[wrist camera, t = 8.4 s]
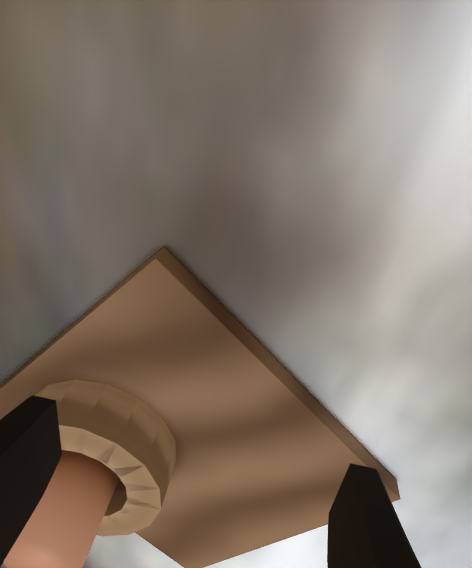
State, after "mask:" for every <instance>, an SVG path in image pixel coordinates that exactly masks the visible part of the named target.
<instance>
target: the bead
mask: <svg viewBox="0 0 472 568" xmlns="http://www.w3.org/2000/svg"><path fill="white" fill-rule="evenodd" d="M34 396H39V397H43V398H48V399H53V400H56V404H57V413H58V422H59V431H60V440H61V449H62V450H66V451H73V452H79V453H82V454H84V455H87V456H89V457H91V458H94V459H96V460H98V461H101V462H102V463H103V464H104V465H106V466H107V467H108V468H110V469H111V470H112V471H114V472H115V473H116V474H117V475H118V476H119V478H120V479H119V481H118V484H117V486H116V488H115V491H114V493H113V495H112V498H111V500H110V503H109V505H108V507H107V510H106V512H105V514H104V517H103V519H102V522H101V524H100V526H99V529H98V531H97V533H96V535H99V536H113V535H128V534H132V533H134V532H136V531H138V530H141V529H143V528H145V527H147V526H150V525H151V523H152V522H153V520H154V519H155V517H156V516H157V515H158V513H159V512H160V510H161V508H162V505H163V502H164V498H165V495H166V492H167V489H168V485H169V482H170V479H171V476H172V473H173V469H174V466H175V463H176V445H175V439H174V437H173V436H172V434H171V432H170V430H169V429H168V427H167V425H166V423H165V422H164V420H163V418H162V417H160V416H159V415H158V414H157V413H156V412H155V411H153V410H152V409H151V408H150V407H149V406H147V405H146V404H145V403H144V402H143V401H141V400H140V399H139V398H137V397H135V396H133V395H131V394H128V393H126V392H124V391H122V390H119V389H117V388H115V387H113V386H110V385H108V384H102V383H96V382H89V381H82V380H71V381H65V382H60V383H55V384H50V385H47V386H46V387H45V388H43V389H42V390H41V391H40V392H38V393H37V394H36V395H34Z"/></svg>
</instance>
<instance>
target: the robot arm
mask: <svg viewBox="0 0 472 568" xmlns="http://www.w3.org/2000/svg"><path fill="white" fill-rule="evenodd" d="M61 456H62V449H61V440H60V431H59V422H58V413H57V404H56V400H53V399H48V398H43V397H39V396H34V395H32V396H30V397H28V398H27V399H26V400H25V401H23V402H22V403H21V404H19V405H18V406H17V407H16V408H14V409H13V410H12V411H10V412H9V413H8V414H7V415H5V416H4V417H3V418H1V419H0V567H1V565H2V563H3V562H4V560H5V558H6V557H7V555H8V553H9V552H10V550H11V548H12V547H13V545H14V543H15V542H16V540H17V539H18V537H19V535H20V534H21V532H22V530H23V529H24V527H25V525H26V524H27V522H28V520H29V519H30V517H31V515H32V514H33V512H34V510H35V509H36V507H37V505H38V503H39V502H40V500H41V498H42V497H43V495H44V493H45V491H46V488H47V486H48V484H49V482H50V480H51V478H52V476H53V474H54V471H55V469H56V467H57V465H58V462H59V460H60V458H61ZM327 562H328V568H421V566H420V564H419V562H418V560H417V558H416V556H415V554H414V552H413V549H412V547H411V545H410V543H409V541H408V539H407V537H406V534H405V532H404V530H403V528H402V526H401V523H400V521H399V519H398V517H397V514H396V512H395V510H394V507H393V505H392V503H391V500H390V498H389V496H388V493H387V491H386V488H385V486H384V484H383V481H382V479H381V476H380V474H379V472H378V471H377V469H375V468H370V467H366V466H361V465H356V464H352V463H350V465H349V467H348V469H347V472H346V474H345V476H344V479H343V481H342V483H341V486H340V488H339V490H338V493H337V495H336V497H335V500H334V502H333V504H332V507H331V509H330V511H329V517H328V554H327Z"/></svg>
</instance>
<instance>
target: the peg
mask: <svg viewBox="0 0 472 568" xmlns="http://www.w3.org/2000/svg"><path fill="white" fill-rule="evenodd" d="M119 479H120V478H119V476H118V475H117V474H116V473H115V472H114V471H112V470H111V469H110V468H108V467H107V466H106V465H104V464H103V463H102V462H101V461H98V460H96V459H94V458H91V457H89V456H87V455H84V454H82V453H79V452H73V451H66V450H62V456H61V458H60V460H59V462H58V465H57V467H56V469H55V471H54V474H53V476H52V478H51V480H50V482H49V484H48V486H47V488H46V491H45V493H44V495H43V497H42V498H41V500H40V502H39V503H38V505H37V507H36V509H35V510H34V512H33V514H32V515H31V517H30V519H29V520H28V522H27V524H26V525H25V527H24V529H23V530H22V532H21V534H20V535H19V537H18V539H17V540H16V542H15V543H14V545H13V547H12V548H11V550H10V552H9V553H8V555H7V557H6V558H5V560H4V562H3V563H4V564H5V565H6V566H7V567H8V568H82V567H83V564H84V562H85V560H86V557H87V555H88V553H89V550H90V548H91V545H92V543H93V541H94V538H95V536H96V533H97V531H98V529H99V526H100V524H101V522H102V519H103V517H104V514H105V512H106V510H107V507H108V505H109V503H110V500H111V498H112V495H113V493H114V491H115V488H116V486H117V484H118V481H119Z"/></svg>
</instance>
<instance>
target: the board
mask: <svg viewBox="0 0 472 568" xmlns="http://www.w3.org/2000/svg"><path fill="white" fill-rule="evenodd" d="M71 380H82V381H89V382H96V383H102V384H108V385H110V386H113V387H115V388H117V389H119V390H122V391H124V392H126V393H128V394H131V395H133V396H135V397H137V398H139V399H140V400H141V401H143V402H144V403H145V404H146V405H147V406H149V407H150V408H151V409H152V410H153V411H155V412H156V413H157V414H158V415H159V416H160V417H162V418H163V420H164V422H165V423H166V425H167V427H168V429H169V430H170V432H171V434H172V436H173V437H174V439H175V445H176V463H175V466H174V469H173V473H172V476H171V479H170V482H169V485H168V489H167V492H166V495H165V498H164V502H163V505H162V508H161V510H160V512H159V513H158V515H157V516H156V517H155V519H154V520H153V522H152V523H151V525H150V526H147V527H145V528H143V529H141V530H138V531H136V532H135V533H136V534H138V535H139V536H141V537H142V538H143V539H145V540H146V541H148V542H149V543H150V544H152V545H153V546H155V547H156V548H157V549H159V550H160V551H162V552H163V553H164V554H166V555H167V556H169V557H170V558H171V559H173V560H174V561H176V562H177V563H178V564H180V565H181V566H183V567H184V568H203V567H206V566H209V565H212V564H215V563H218V562H220V561H223V560H226V559H229V558H232V557H235V556H238V555H241V554H244V553H246V552H249V551H252V550H255V549H258V548H261V547H264V546H267V545H269V544H272V543H275V542H278V541H281V540H284V539H287V538H290V537H293V536H295V535H298V534H301V533H304V532H307V531H310V530H313V529H316V528H318V527H321V526H324V525H327V524H328V517H329V511H330V509H331V507H332V504H333V502H334V500H335V497H336V495H337V493H338V490H339V488H340V486H341V483H342V481H343V479H344V476H345V474H346V472H347V469H348V467H349V465H350V463H352V464H356V465H361V466H366V467H370V468H375V469H377V471H378V472H379V474H380V476H381V479H382V481H383V484H384V486H385V488H386V491H387V493H388V496H389V498H390V500H391V502H393V501H396V500H399V499H400V495H399V490H398V485H397V480H396V479H395V478H394V477H393V476H392V475H391V474H390V473H389V472H388V471H387V470H386V469H385V468H384V467H383V466H382V465H381V464H380V463H379V462H378V461H377V460H376V459H375V458H374V457H373V456H372V455H371V454H370V453H369V452H368V451H367V450H366V449H365V448H364V447H363V446H362V445H361V444H360V443H359V442H358V441H357V440H356V439H355V438H354V437H353V436H352V435H351V434H350V433H349V432H348V431H347V430H346V429H345V428H344V427H343V426H342V425H341V424H340V423H339V422H338V421H337V420H336V419H335V418H334V417H333V416H332V415H331V414H330V413H329V412H328V411H327V410H326V409H325V408H324V407H323V406H322V405H321V404H320V403H319V402H318V401H317V400H316V399H315V398H314V397H313V396H312V395H311V394H310V393H309V392H308V391H307V390H306V389H305V388H304V387H303V386H302V385H301V384H300V383H299V382H298V381H297V380H296V379H295V378H294V377H293V376H292V375H291V374H290V373H289V372H288V371H287V370H286V369H285V368H284V367H283V366H282V365H281V364H280V363H279V362H278V361H277V360H276V359H275V358H274V357H273V356H272V355H271V354H270V353H269V352H268V351H267V350H266V349H265V348H264V347H263V346H262V345H261V344H260V343H259V342H258V341H257V340H256V339H255V338H254V337H253V336H252V335H251V334H250V333H249V332H248V331H247V330H246V329H245V328H244V327H243V326H242V325H241V324H240V322H239V321H238V320H237V319H236V318H235V317H234V316H233V315H232V314H231V313H230V312H229V311H228V310H227V309H226V308H225V307H224V306H223V305H222V304H221V303H220V302H219V301H218V300H217V299H216V298H215V297H214V296H213V295H212V294H211V293H210V292H209V291H208V290H207V289H206V288H205V287H204V286H203V285H202V284H201V283H200V282H199V281H198V280H197V279H196V278H195V277H194V276H193V275H192V274H191V273H190V272H189V271H188V270H187V269H186V268H185V267H184V266H183V265H182V264H181V263H180V262H179V261H178V260H177V259H176V258H175V257H174V256H173V255H172V254H171V253H170V252H169V251H168V250H167V249H166V248H165V247H162V248H161V249H160V250H159V251H158V252H157V253H155V254H154V255H153V256H152V257H151V258H150V259H148V260H147V261H146V262H145V263H144V264H142V265H141V266H140V267H139V268H138V269H137V270H135V271H134V272H133V273H132V274H131V275H129V276H128V277H127V278H126V279H125V280H124V281H122V282H121V283H120V284H119V285H118V286H117V287H115V288H114V289H113V290H112V291H111V292H109V293H108V294H107V295H106V296H105V297H104V298H102V299H101V300H100V301H99V302H98V303H97V304H95V305H94V306H93V307H92V308H91V309H89V310H88V311H87V312H86V313H85V314H84V315H82V316H81V317H80V318H79V319H78V320H76V321H75V322H74V323H73V324H72V325H71V326H69V327H68V328H67V329H66V330H65V331H64V332H62V333H61V334H60V335H59V336H58V337H56V338H55V339H54V340H53V341H52V342H51V343H49V344H48V345H47V346H46V347H45V348H44V349H42V350H41V351H40V352H39V353H38V354H36V355H35V356H34V357H33V358H32V359H31V360H29V361H28V362H27V363H26V364H25V365H24V366H22V367H21V368H20V369H19V370H18V371H16V372H15V373H14V374H13V375H12V376H11V377H9V378H8V379H7V380H6V381H5V382H3V383H2V384H1V385H0V419H1V418H3V417H4V416H5V415H7V414H8V413H9V412H10V411H12V410H13V409H14V408H16V407H17V406H18V405H19V404H21V403H22V402H23V401H25V400H26V399H27V398H28V397H30V396H32V395H36V394H37V393H38V392H40V391H41V390H42V389H43V388H45V387H46V386H47V385H50V384H55V383H60V382H65V381H71Z"/></svg>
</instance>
